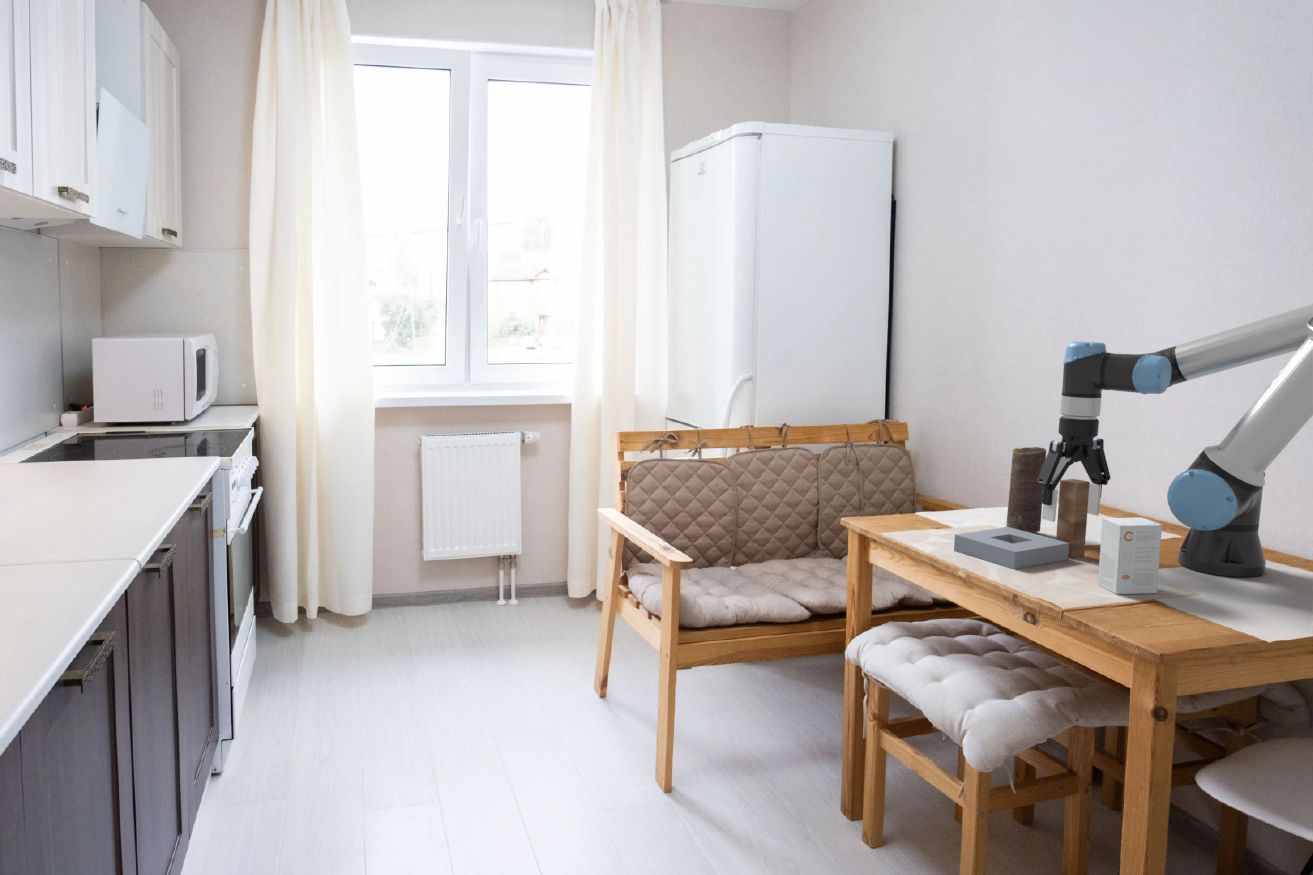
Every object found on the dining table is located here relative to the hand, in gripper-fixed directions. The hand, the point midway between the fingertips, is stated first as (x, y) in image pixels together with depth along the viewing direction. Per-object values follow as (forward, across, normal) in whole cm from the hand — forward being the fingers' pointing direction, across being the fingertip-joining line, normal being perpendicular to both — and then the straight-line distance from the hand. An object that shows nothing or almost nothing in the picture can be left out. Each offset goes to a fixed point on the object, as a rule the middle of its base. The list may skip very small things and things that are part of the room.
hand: (1070, 517), depth 198 cm
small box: (+8, +11, +22) cm, 25 cm away
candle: (+9, -7, -18) cm, 21 cm away
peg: (+8, 0, 0) cm, 8 cm away
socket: (+8, +11, -6) cm, 15 cm away
